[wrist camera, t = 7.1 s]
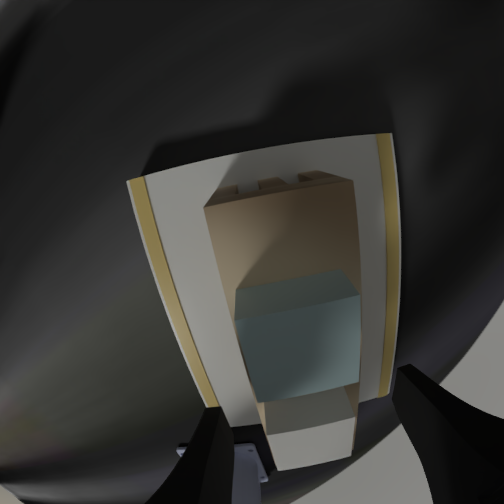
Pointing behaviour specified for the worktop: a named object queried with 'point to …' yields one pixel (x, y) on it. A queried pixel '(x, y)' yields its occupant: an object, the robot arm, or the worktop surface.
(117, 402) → the worktop surface
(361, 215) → the dock
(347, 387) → the tan notched block
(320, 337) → the block
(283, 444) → the crate
